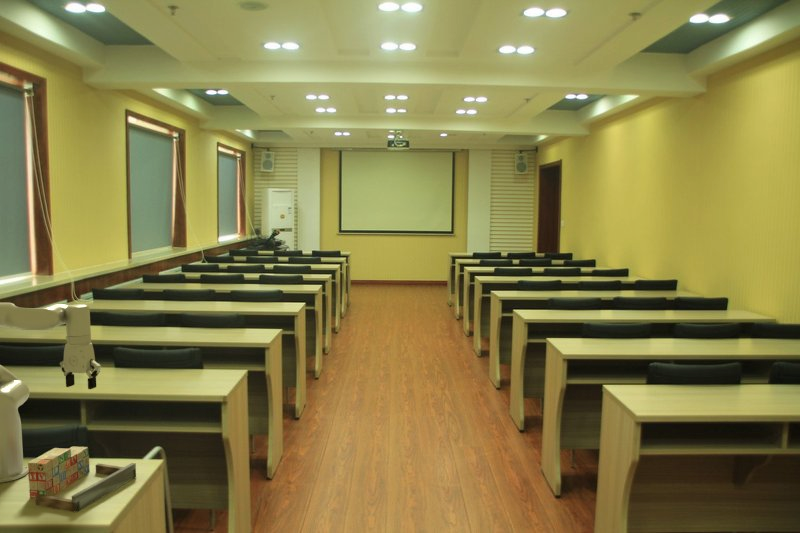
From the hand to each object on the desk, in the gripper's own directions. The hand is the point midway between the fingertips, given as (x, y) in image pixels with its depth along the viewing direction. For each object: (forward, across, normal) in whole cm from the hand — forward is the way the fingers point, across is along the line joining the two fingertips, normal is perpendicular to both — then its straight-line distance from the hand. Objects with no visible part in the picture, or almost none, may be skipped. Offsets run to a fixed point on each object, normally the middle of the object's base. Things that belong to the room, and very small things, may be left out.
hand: (81, 387), depth 216 cm
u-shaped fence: (+30, +14, -13) cm, 36 cm away
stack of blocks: (+31, +2, -12) cm, 33 cm away
